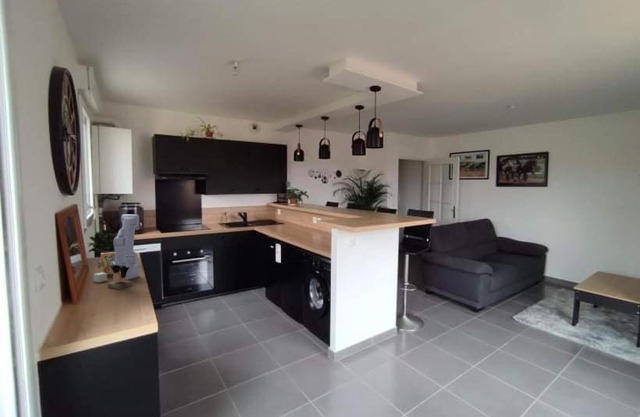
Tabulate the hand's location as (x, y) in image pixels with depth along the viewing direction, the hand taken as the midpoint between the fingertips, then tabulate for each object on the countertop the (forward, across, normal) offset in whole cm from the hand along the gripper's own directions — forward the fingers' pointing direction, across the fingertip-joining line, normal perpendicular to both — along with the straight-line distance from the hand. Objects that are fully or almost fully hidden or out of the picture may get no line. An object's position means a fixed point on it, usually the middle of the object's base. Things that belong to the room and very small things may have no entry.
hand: (120, 277), depth 191 cm
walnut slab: (+6, 0, 0) cm, 6 cm away
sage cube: (+6, -21, +2) cm, 22 cm away
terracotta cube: (+2, 0, 0) cm, 2 cm away
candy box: (+6, -32, +15) cm, 36 cm away
